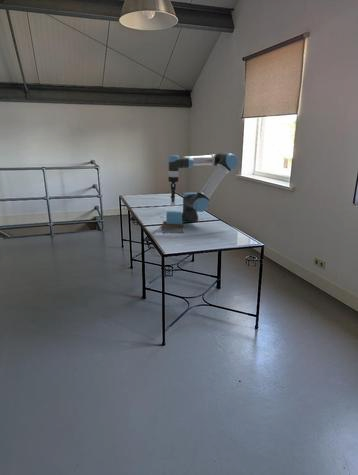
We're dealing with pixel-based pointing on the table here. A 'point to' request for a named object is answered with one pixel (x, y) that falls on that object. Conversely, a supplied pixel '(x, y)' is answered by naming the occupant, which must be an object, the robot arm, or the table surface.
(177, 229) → the charcoal mat
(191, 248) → the table surface
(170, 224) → the walnut box
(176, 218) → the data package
